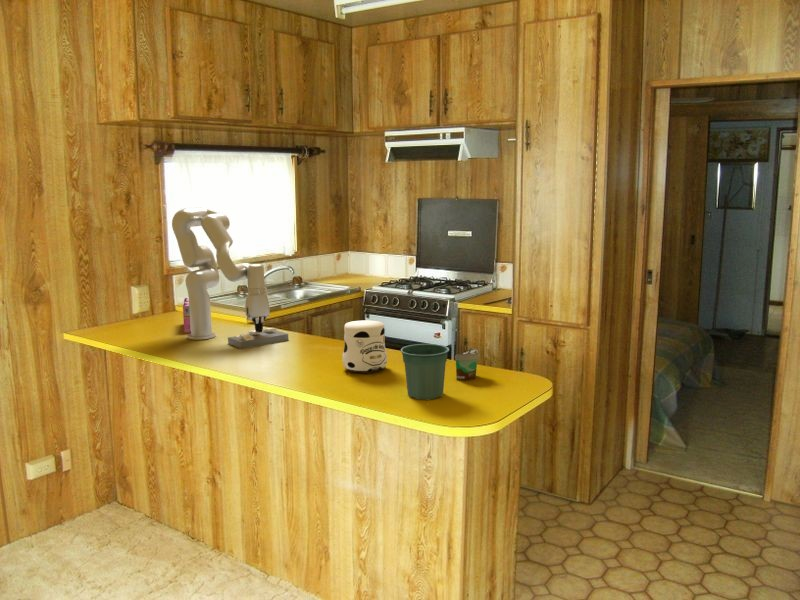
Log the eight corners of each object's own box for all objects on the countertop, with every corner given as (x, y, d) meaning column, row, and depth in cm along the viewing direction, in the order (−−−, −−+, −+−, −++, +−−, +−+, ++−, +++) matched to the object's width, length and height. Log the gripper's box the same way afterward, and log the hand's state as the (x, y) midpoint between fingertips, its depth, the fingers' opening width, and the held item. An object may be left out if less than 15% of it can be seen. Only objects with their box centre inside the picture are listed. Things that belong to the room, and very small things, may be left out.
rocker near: (239, 336, 316) (239, 333, 315) (246, 335, 318) (247, 332, 318) (246, 341, 312) (246, 338, 311) (253, 340, 314) (253, 336, 313)
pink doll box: (186, 323, 365) (184, 297, 362) (202, 322, 366) (200, 296, 364) (184, 333, 342) (182, 305, 339) (201, 332, 344) (199, 304, 341)
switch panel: (228, 343, 319) (227, 336, 319) (275, 335, 334) (274, 329, 334) (240, 348, 310) (240, 341, 310) (288, 340, 325) (288, 333, 325)
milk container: (377, 377, 264) (376, 330, 261) (335, 373, 270) (334, 327, 267) (393, 366, 280) (393, 321, 277) (353, 362, 286) (352, 318, 283)
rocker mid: (248, 334, 325) (248, 330, 325) (255, 332, 327) (255, 329, 327) (254, 335, 321) (254, 331, 320) (261, 333, 323) (261, 330, 323)
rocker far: (263, 332, 330) (262, 328, 330) (270, 331, 332) (269, 327, 332) (269, 332, 325) (269, 328, 325) (276, 330, 328) (275, 327, 327)
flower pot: (391, 397, 241) (391, 351, 238) (416, 385, 255) (416, 341, 252) (434, 405, 232) (434, 357, 230) (457, 392, 246) (457, 346, 243)
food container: (469, 383, 256) (470, 356, 254) (454, 381, 259) (454, 354, 258) (484, 375, 266) (484, 349, 265) (469, 373, 270) (470, 347, 268)
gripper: (267, 288, 326) (269, 328, 329) (237, 292, 316) (240, 333, 319) (275, 290, 320) (277, 330, 323) (245, 294, 311) (248, 335, 314)
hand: (259, 331), depth 321 cm, fingers closed
